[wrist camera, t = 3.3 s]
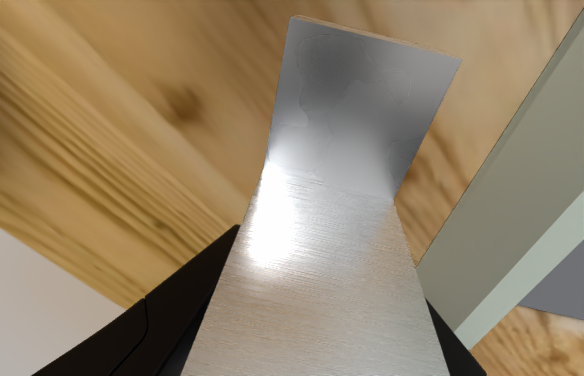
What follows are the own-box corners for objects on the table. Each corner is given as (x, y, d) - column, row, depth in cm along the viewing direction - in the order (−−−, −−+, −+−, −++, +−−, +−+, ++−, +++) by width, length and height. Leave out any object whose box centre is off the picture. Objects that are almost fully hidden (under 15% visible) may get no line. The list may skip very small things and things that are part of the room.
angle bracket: (348, 247, 13) (369, 526, 6) (258, 226, 13) (175, 485, 6) (435, 48, 8) (897, 241, 2) (298, 14, 8) (152, 62, 1)
